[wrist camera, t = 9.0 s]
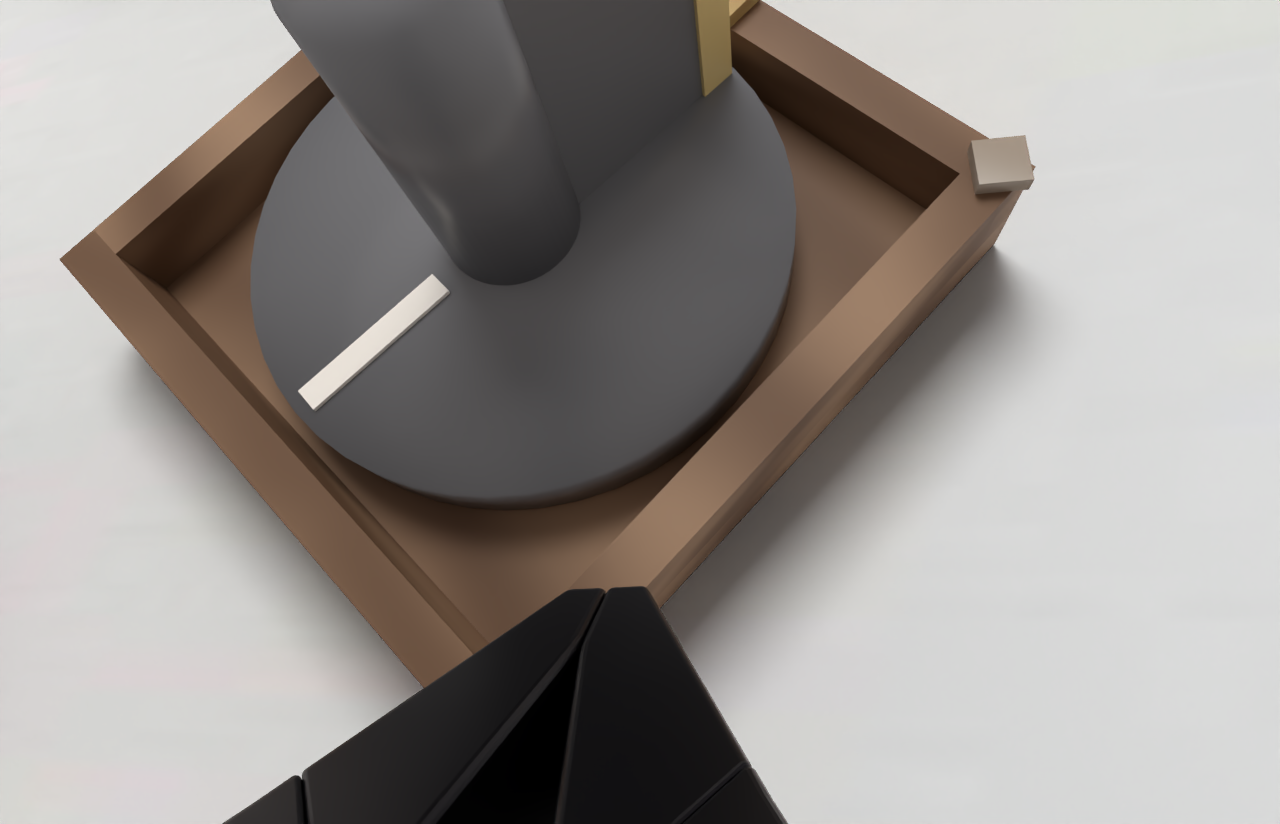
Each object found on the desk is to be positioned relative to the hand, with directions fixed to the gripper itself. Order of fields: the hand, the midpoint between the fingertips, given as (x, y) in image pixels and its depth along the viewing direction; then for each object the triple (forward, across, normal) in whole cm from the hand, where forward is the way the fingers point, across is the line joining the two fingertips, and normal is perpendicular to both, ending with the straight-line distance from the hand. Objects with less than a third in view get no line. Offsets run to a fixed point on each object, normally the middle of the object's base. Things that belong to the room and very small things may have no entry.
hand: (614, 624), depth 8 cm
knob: (+15, -4, 0) cm, 16 cm away
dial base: (+16, -4, -1) cm, 17 cm away
